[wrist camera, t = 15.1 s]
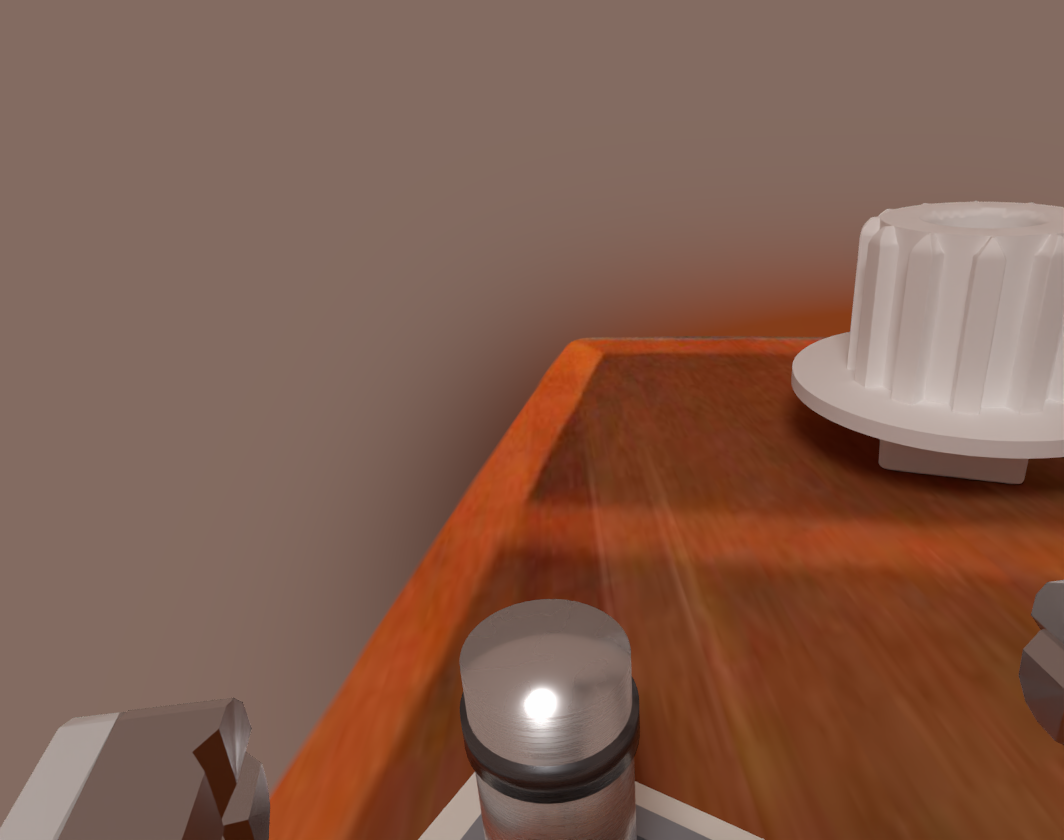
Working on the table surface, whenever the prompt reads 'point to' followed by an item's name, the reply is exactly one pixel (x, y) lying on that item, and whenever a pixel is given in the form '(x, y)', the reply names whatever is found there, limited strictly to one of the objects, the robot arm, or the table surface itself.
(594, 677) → the capped metal cylinder
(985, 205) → the flanged gear
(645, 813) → the socket mount
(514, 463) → the table surface
